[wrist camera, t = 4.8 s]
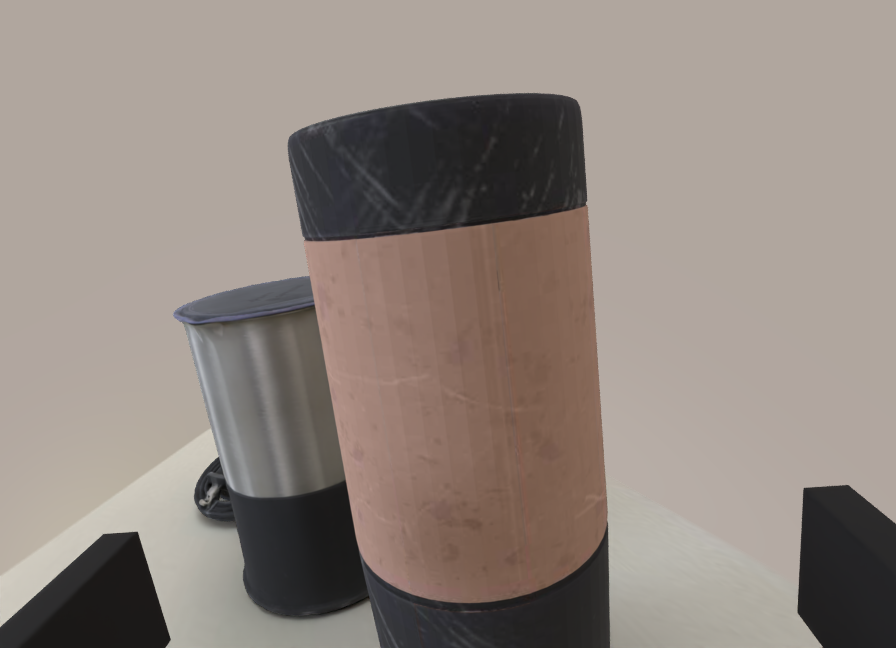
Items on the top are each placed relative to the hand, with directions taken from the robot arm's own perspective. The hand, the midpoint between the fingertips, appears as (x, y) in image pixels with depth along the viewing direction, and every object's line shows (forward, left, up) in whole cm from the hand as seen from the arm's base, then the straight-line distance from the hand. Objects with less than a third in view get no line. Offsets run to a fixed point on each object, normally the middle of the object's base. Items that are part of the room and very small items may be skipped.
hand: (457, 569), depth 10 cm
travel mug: (+5, -3, -11) cm, 12 cm away
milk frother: (+21, +1, -11) cm, 24 cm away
